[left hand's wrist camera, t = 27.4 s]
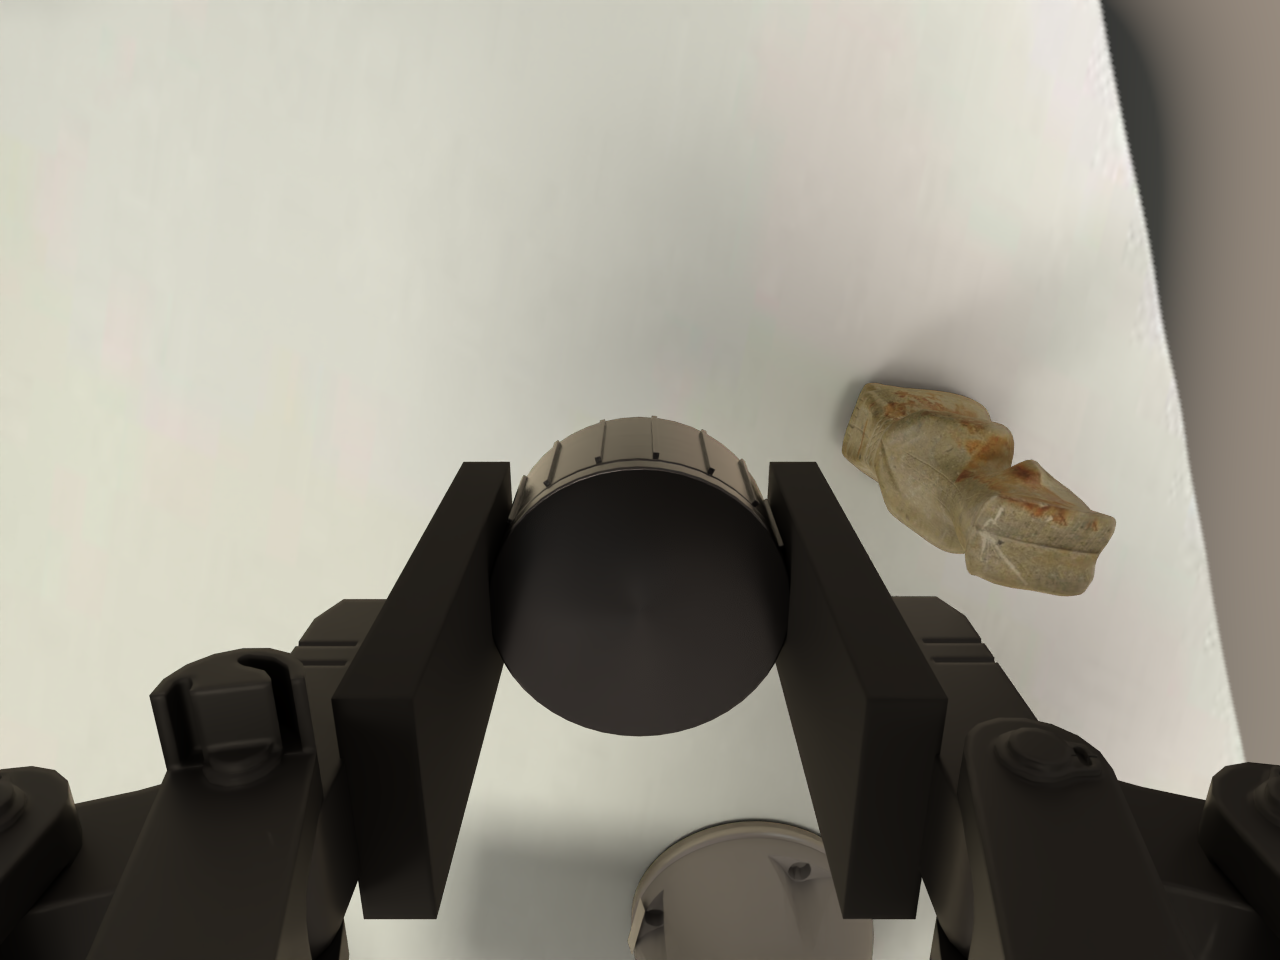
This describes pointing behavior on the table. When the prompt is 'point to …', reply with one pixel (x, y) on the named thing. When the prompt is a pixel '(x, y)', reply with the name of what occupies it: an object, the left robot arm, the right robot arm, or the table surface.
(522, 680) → the cap
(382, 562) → the table surface
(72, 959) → the left robot arm
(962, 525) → the sculpture
